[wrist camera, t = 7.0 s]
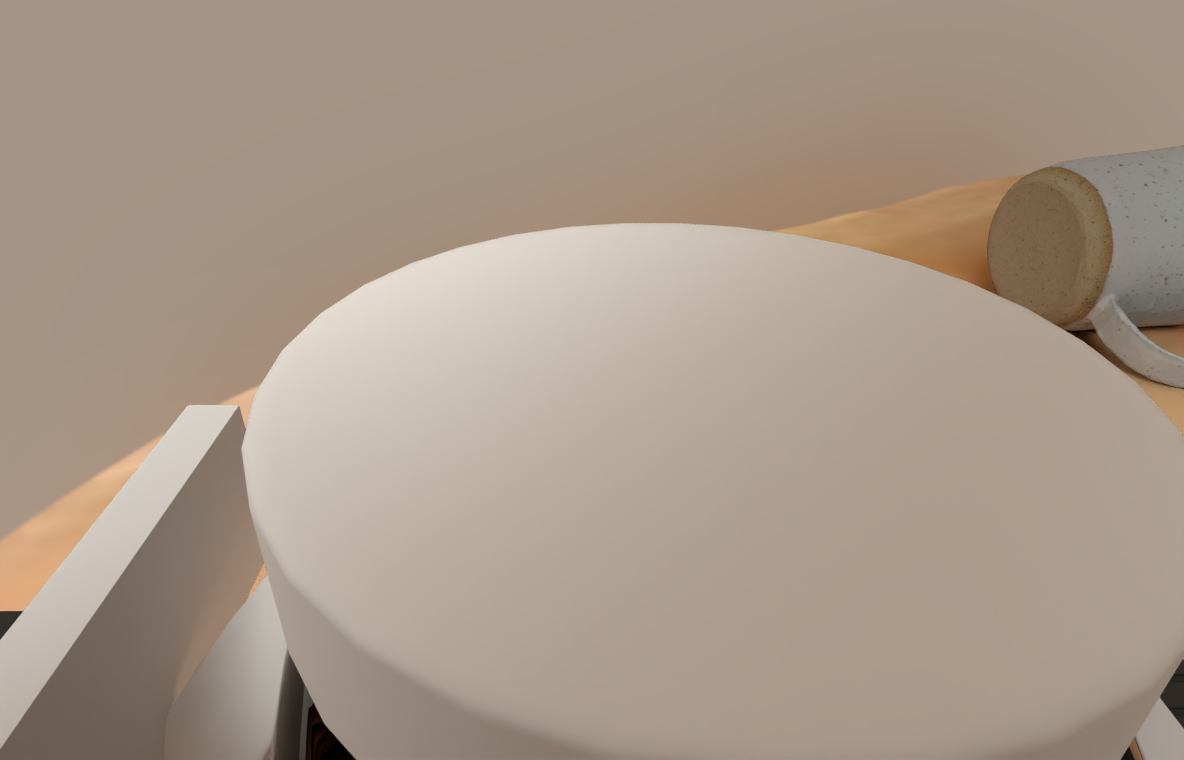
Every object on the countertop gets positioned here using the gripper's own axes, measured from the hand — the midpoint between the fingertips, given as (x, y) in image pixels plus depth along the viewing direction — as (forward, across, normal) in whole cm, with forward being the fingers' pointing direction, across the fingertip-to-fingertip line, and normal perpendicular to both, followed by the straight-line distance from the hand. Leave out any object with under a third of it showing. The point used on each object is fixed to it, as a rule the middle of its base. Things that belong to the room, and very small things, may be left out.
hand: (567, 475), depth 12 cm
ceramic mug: (+20, +24, -8) cm, 32 cm away
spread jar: (-4, -1, -7) cm, 8 cm away
